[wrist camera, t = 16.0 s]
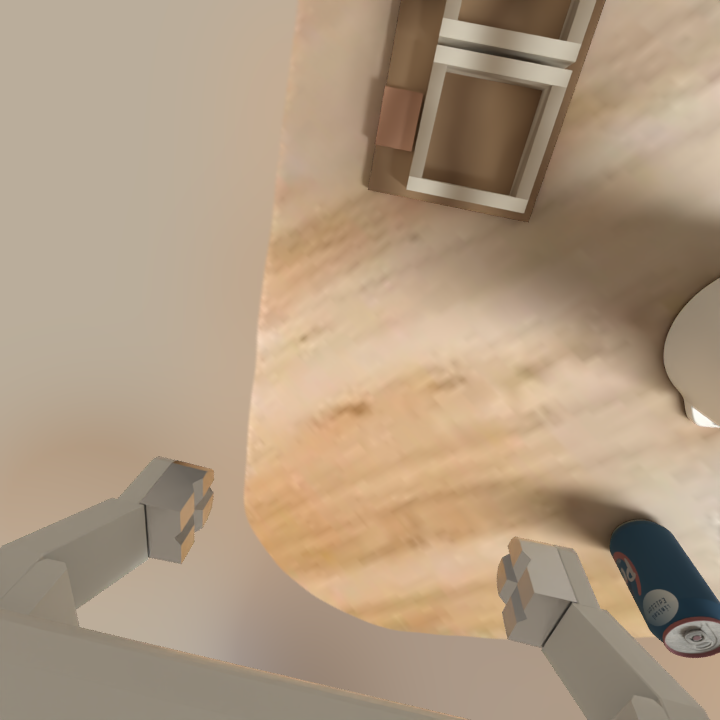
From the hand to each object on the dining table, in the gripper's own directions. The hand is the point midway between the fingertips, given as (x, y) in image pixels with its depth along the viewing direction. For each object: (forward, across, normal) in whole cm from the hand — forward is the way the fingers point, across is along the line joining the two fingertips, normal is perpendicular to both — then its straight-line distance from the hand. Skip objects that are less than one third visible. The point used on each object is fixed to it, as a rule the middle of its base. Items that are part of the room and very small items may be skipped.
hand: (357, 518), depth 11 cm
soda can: (+31, -35, +26) cm, 54 cm away
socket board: (+31, -3, -16) cm, 35 cm away
